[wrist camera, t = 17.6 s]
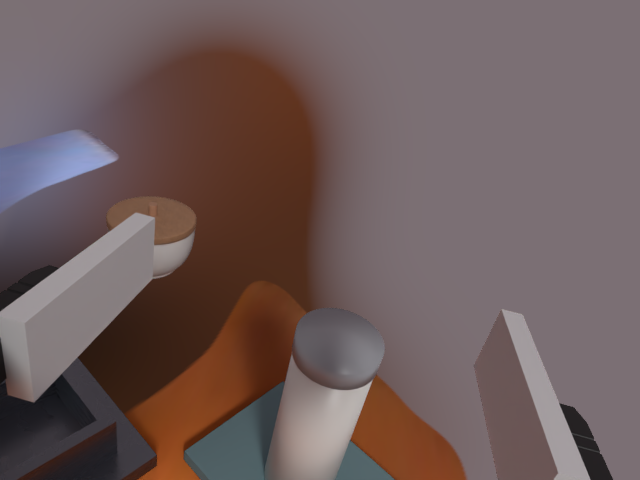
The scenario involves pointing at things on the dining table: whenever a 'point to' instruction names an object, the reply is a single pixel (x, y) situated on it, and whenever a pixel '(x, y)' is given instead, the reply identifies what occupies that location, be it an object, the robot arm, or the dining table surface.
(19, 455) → the housing
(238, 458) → the mat
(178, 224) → the lidded jar
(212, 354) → the dining table surface
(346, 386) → the cylinder
